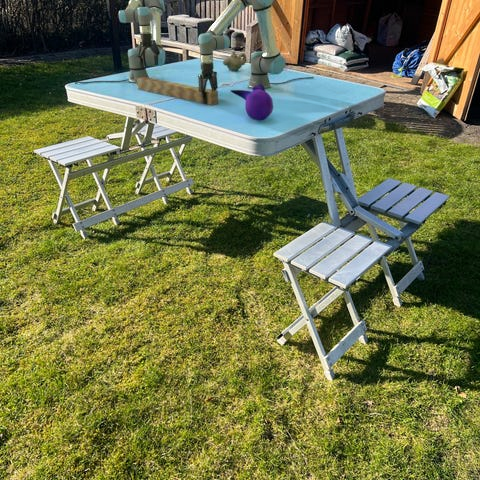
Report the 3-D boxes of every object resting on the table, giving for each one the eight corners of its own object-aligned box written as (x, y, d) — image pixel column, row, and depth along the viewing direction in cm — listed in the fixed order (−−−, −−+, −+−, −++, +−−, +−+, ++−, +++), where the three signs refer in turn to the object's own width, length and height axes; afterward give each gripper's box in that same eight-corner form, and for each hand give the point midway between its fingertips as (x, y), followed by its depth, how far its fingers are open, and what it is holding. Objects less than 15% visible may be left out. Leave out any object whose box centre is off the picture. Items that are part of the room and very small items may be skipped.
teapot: (226, 73, 360) (226, 53, 352) (220, 71, 368) (219, 51, 361) (249, 70, 369) (249, 50, 361) (242, 68, 377) (242, 49, 370)
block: (138, 89, 315) (136, 77, 311) (144, 87, 319) (143, 76, 315) (211, 105, 271) (210, 92, 267) (218, 103, 275) (217, 90, 271)
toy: (255, 109, 260) (272, 127, 239) (226, 104, 252) (242, 122, 232) (262, 81, 252) (281, 97, 231) (233, 76, 244) (251, 92, 224)
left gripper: (135, 34, 290) (139, 69, 300) (163, 31, 307) (166, 64, 318) (127, 34, 294) (132, 68, 304) (155, 31, 311) (158, 63, 322)
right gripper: (199, 65, 256) (201, 106, 268) (223, 60, 268) (224, 100, 280) (190, 64, 260) (193, 104, 272) (214, 59, 273) (215, 98, 284)
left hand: (149, 66), depth 311 cm, fingers open, 13 cm apart
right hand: (209, 102), depth 276 cm, fingers open, 6 cm apart
